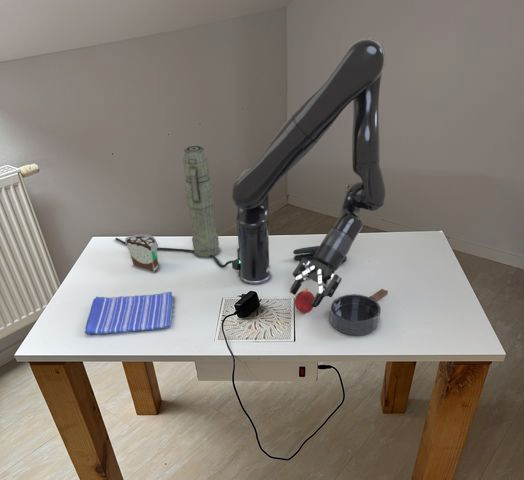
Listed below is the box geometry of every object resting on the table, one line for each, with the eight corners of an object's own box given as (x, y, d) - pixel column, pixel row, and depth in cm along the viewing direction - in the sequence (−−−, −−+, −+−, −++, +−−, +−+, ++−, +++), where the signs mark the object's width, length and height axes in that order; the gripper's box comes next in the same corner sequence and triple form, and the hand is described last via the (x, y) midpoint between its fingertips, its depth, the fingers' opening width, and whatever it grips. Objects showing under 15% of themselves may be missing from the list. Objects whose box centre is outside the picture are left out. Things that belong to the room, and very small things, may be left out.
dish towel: (95, 303, 145) (93, 295, 143) (173, 296, 146) (172, 288, 144) (84, 337, 131) (81, 329, 129) (170, 329, 132) (169, 321, 131)
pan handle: (372, 305, 133) (373, 300, 132) (366, 302, 134) (367, 297, 133) (387, 295, 136) (388, 290, 135) (381, 293, 138) (382, 287, 136)
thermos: (193, 261, 162) (177, 155, 140) (195, 245, 172) (181, 143, 149) (219, 259, 163) (207, 153, 140) (220, 243, 172) (209, 141, 150)
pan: (320, 322, 132) (321, 308, 129) (350, 303, 139) (351, 289, 136) (358, 343, 125) (360, 328, 121) (388, 321, 131) (390, 307, 128)
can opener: (346, 256, 161) (347, 240, 157) (346, 266, 155) (347, 250, 152) (294, 254, 163) (294, 239, 160) (292, 264, 158) (292, 249, 154)
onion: (313, 319, 133) (314, 295, 128) (293, 317, 134) (293, 293, 129) (315, 307, 138) (316, 284, 133) (296, 306, 139) (296, 282, 134)
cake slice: (169, 265, 161) (164, 238, 154) (157, 274, 157) (152, 246, 150) (143, 257, 166) (137, 230, 160) (130, 265, 162) (123, 238, 156)
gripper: (309, 234, 132) (278, 285, 134) (346, 252, 123) (313, 306, 125) (322, 246, 138) (292, 294, 140) (359, 263, 129) (327, 314, 131)
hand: (302, 299), depth 132 cm, fingers open, 8 cm apart
